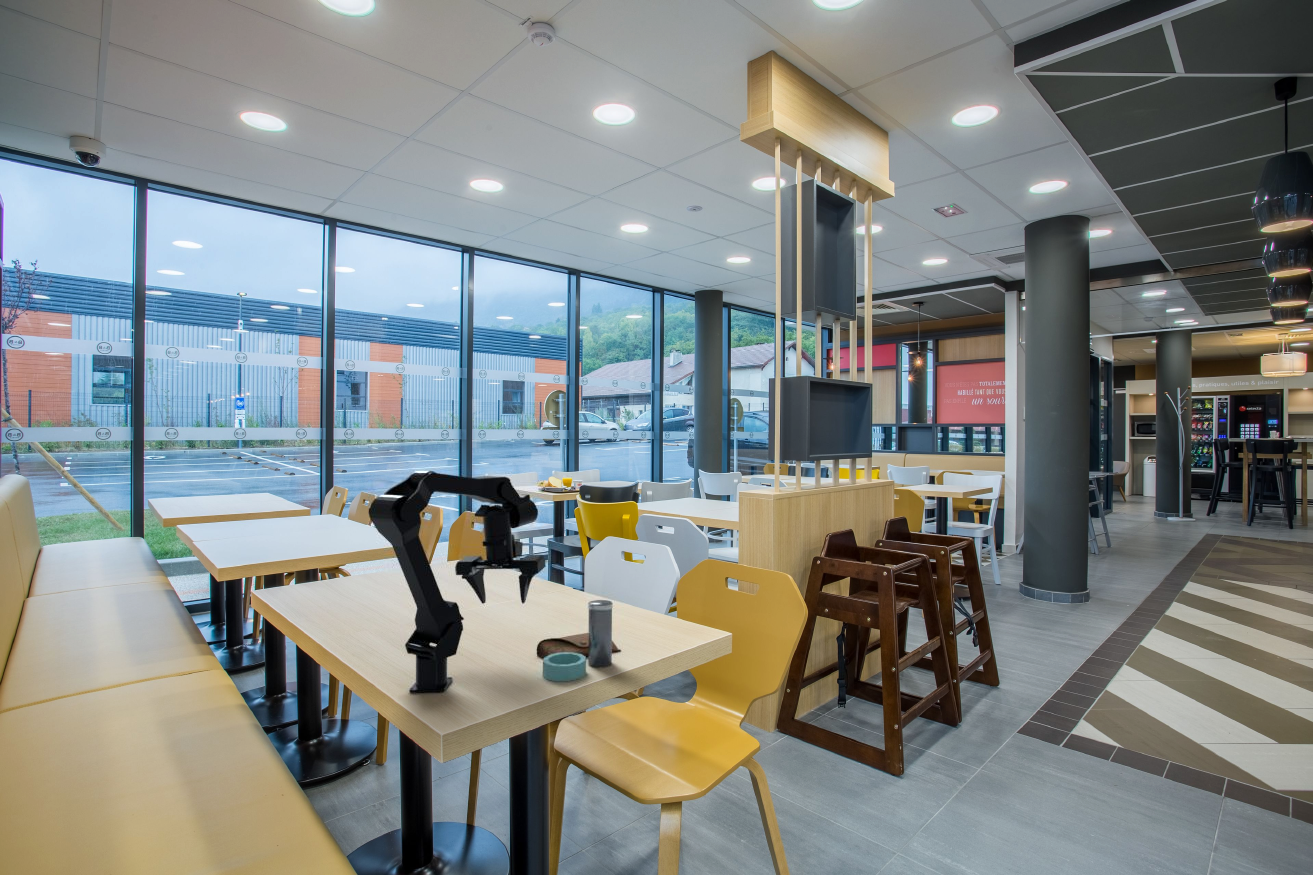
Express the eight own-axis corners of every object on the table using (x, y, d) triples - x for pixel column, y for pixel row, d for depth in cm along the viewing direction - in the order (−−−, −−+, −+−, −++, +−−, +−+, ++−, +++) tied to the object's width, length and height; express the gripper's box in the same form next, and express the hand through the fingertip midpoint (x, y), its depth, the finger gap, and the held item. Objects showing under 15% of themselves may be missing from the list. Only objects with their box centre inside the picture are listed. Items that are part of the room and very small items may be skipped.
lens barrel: (611, 667, 134) (612, 605, 134) (587, 667, 133) (587, 605, 134) (612, 659, 139) (612, 599, 139) (588, 659, 138) (588, 599, 139)
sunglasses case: (552, 665, 134) (546, 634, 137) (540, 674, 139) (534, 644, 142) (624, 650, 145) (616, 622, 148) (610, 659, 150) (603, 631, 152)
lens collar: (584, 680, 126) (584, 665, 126) (540, 681, 125) (540, 666, 125) (586, 666, 134) (586, 651, 134) (546, 666, 134) (546, 652, 134)
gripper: (550, 523, 144) (555, 590, 146) (473, 525, 147) (479, 590, 149) (534, 536, 134) (539, 607, 135) (451, 537, 136) (457, 608, 138)
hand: (503, 602), depth 139 cm, fingers open, 9 cm apart
